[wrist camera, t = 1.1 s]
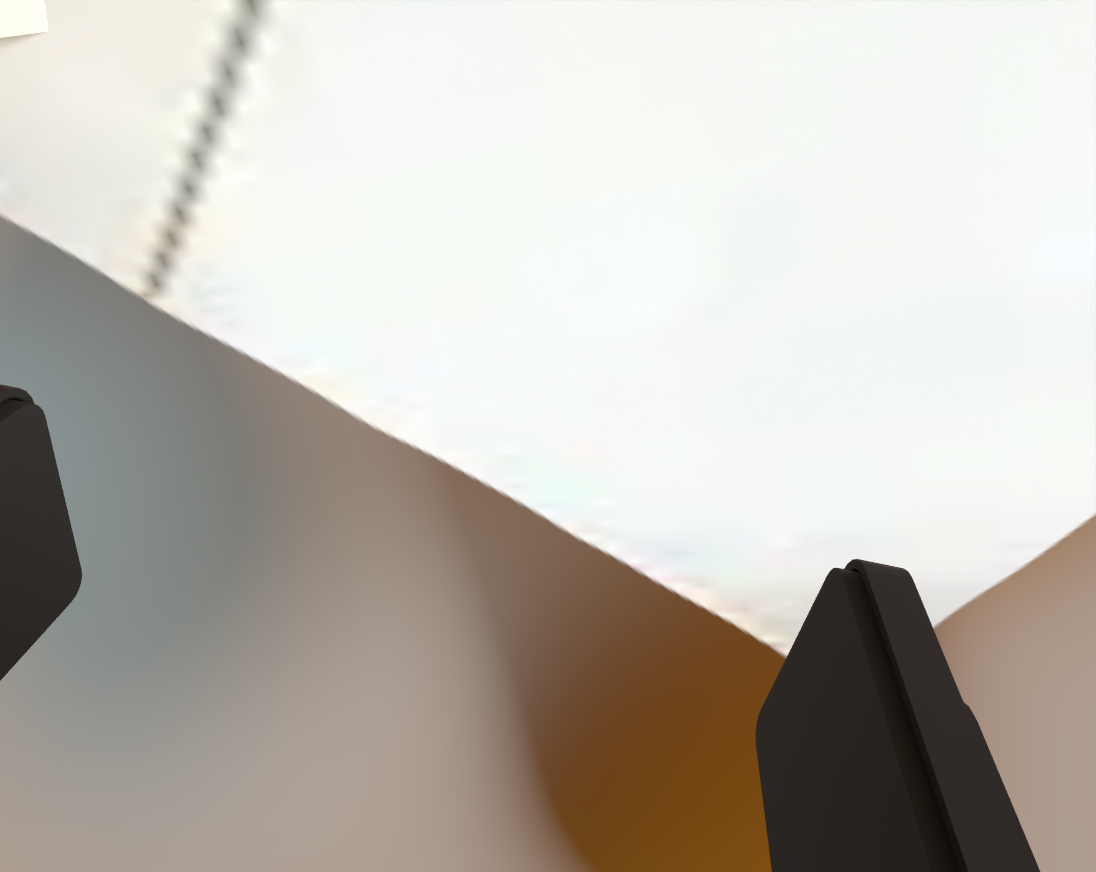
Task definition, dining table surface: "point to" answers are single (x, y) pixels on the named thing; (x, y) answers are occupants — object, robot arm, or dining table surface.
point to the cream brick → (22, 17)
